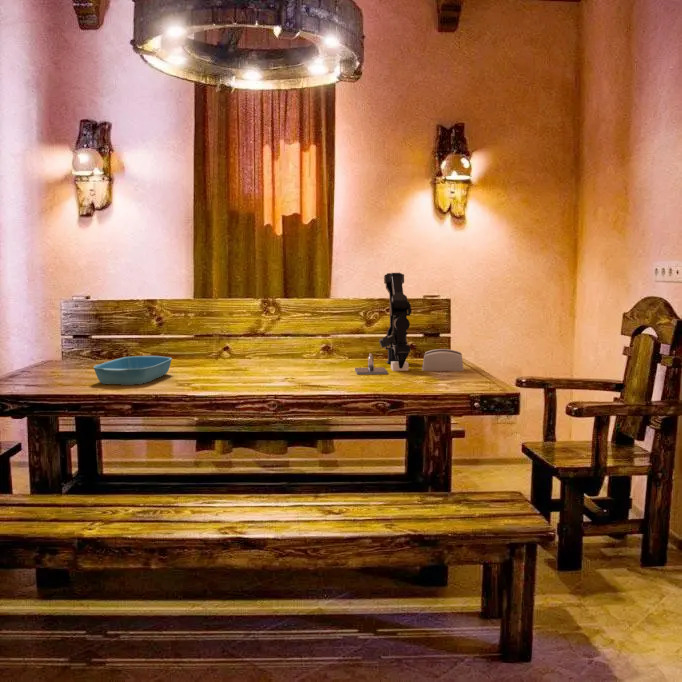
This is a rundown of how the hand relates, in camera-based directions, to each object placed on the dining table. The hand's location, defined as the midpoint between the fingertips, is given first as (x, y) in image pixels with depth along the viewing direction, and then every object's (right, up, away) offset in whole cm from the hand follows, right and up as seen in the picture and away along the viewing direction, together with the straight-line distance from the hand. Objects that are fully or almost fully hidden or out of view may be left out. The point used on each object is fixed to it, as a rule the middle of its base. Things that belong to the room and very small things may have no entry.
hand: (399, 367), depth 299 cm
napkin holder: (+17, -2, -3) cm, 18 cm away
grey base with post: (-12, -2, -7) cm, 14 cm away
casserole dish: (-103, -4, -20) cm, 105 cm away
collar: (0, -1, 0) cm, 1 cm away
